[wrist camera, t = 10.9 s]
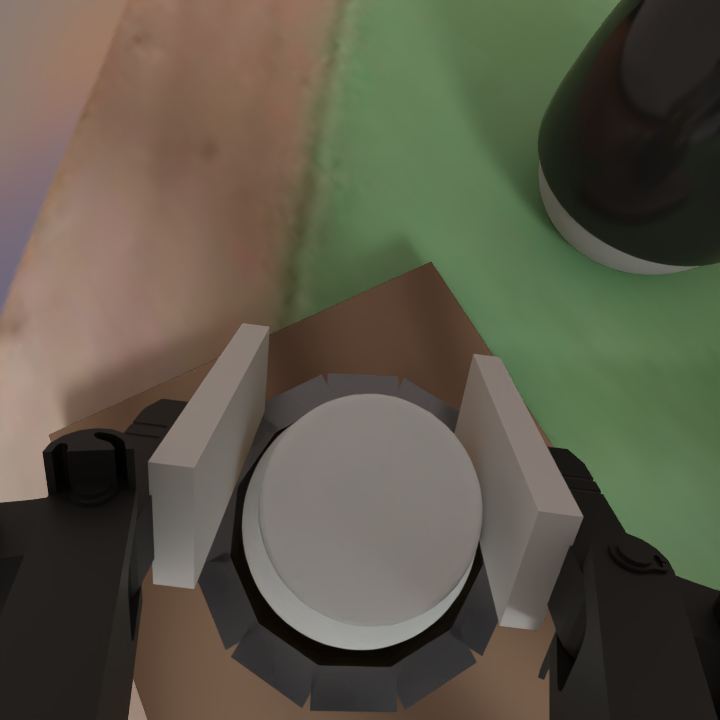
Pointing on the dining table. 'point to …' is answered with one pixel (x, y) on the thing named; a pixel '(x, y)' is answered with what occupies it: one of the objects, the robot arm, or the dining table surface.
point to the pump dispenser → (639, 140)
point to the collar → (295, 650)
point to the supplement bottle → (362, 521)
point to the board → (199, 633)
